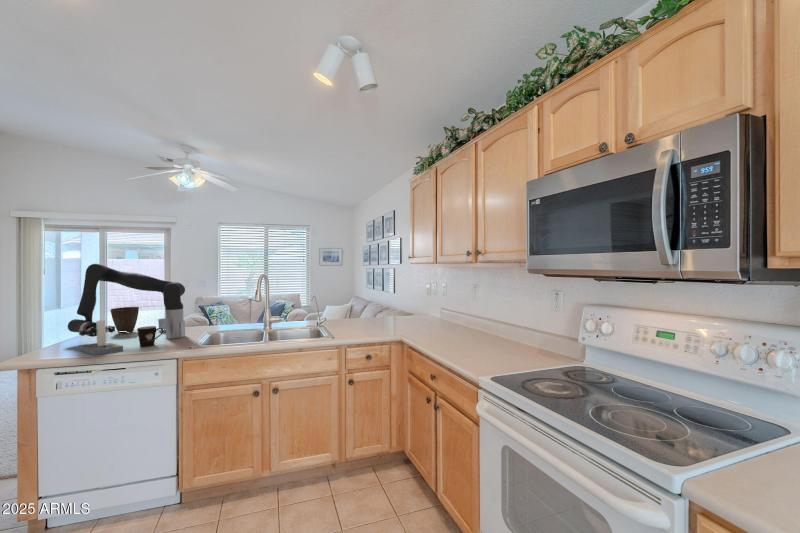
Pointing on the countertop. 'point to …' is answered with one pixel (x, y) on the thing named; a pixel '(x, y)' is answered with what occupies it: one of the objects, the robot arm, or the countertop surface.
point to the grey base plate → (101, 348)
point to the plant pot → (125, 318)
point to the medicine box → (162, 324)
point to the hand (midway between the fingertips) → (102, 331)
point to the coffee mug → (147, 335)
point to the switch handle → (101, 333)
